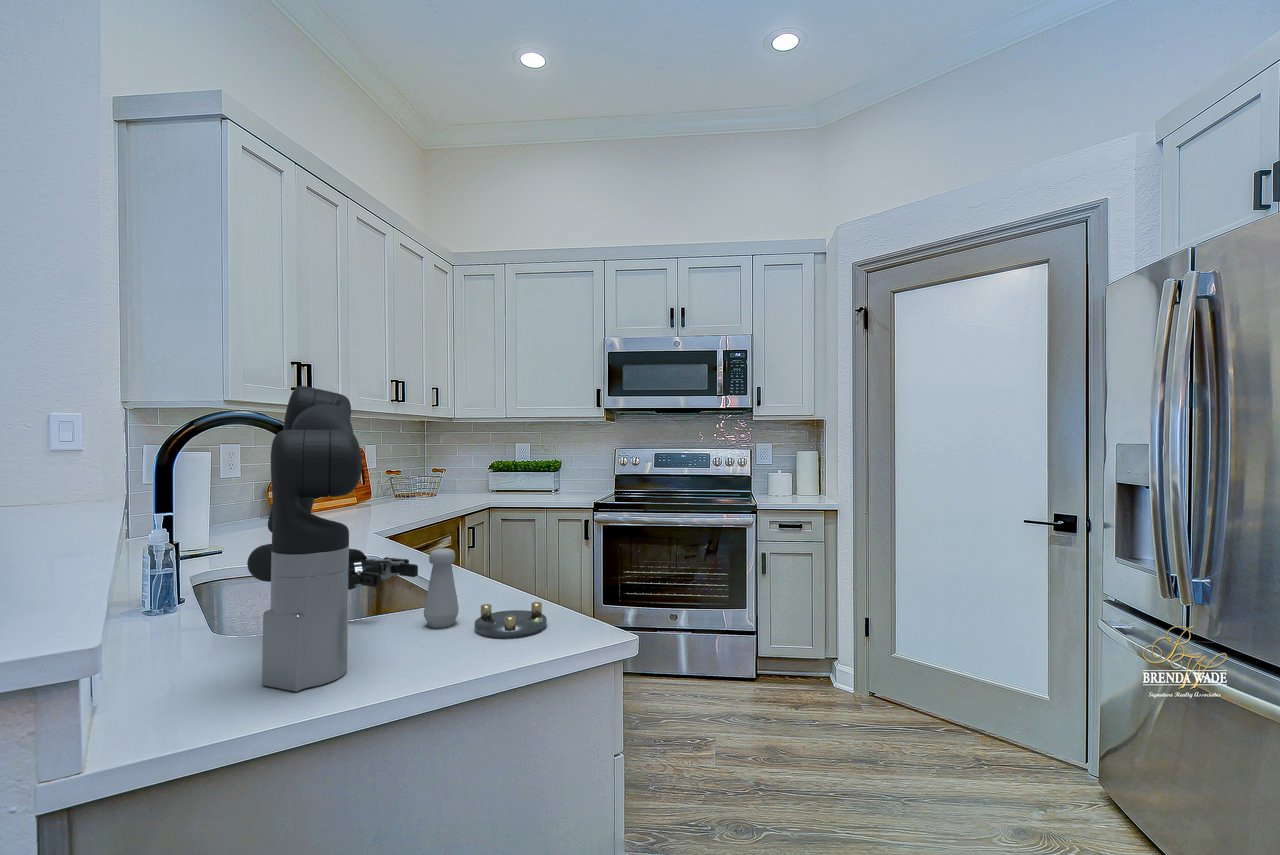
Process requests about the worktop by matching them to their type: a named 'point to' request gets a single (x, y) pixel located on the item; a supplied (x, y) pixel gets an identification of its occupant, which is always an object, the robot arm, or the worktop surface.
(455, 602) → the salt shaker
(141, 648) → the worktop surface
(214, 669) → the worktop surface
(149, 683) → the worktop surface
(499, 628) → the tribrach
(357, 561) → the robot arm
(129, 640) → the worktop surface
